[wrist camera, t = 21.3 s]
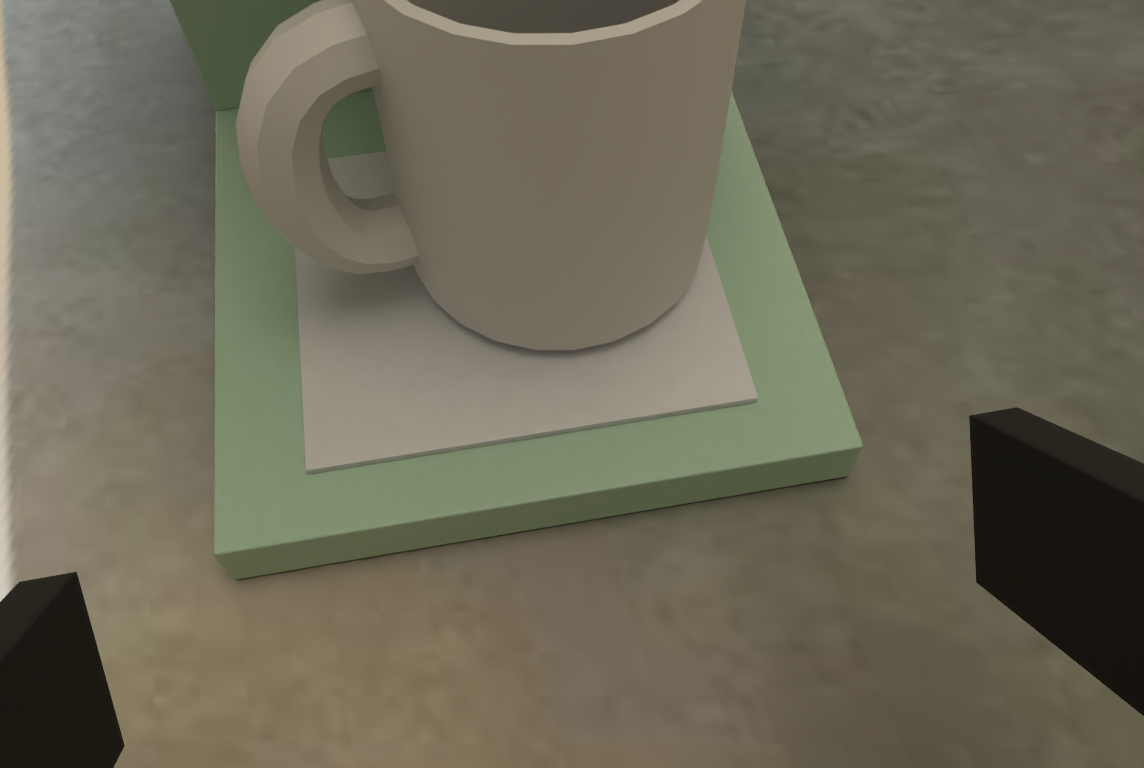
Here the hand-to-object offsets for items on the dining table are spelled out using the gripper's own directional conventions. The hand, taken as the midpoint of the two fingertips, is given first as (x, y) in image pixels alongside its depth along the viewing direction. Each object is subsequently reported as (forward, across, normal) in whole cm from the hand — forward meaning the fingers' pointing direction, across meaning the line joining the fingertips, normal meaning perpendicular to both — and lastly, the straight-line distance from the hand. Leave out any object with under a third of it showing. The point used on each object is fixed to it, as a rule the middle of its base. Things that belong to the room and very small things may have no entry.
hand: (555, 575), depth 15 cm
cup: (+11, 0, +3) cm, 12 cm away
